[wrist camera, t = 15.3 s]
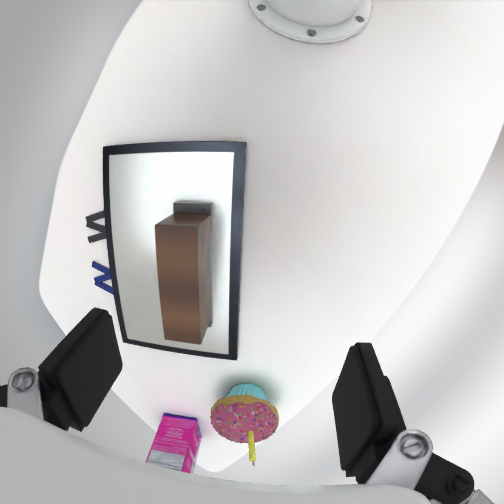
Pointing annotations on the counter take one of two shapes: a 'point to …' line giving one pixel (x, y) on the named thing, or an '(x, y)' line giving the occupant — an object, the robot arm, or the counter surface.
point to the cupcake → (245, 416)
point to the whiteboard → (158, 208)
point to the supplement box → (176, 443)
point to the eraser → (185, 271)
